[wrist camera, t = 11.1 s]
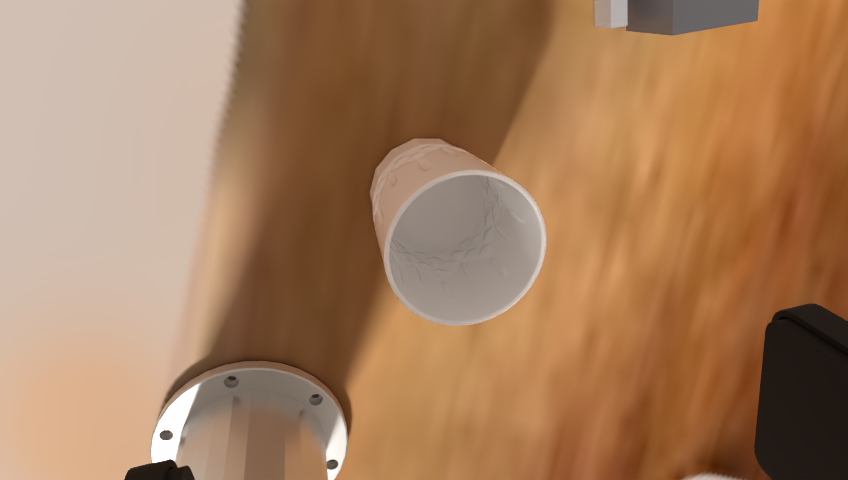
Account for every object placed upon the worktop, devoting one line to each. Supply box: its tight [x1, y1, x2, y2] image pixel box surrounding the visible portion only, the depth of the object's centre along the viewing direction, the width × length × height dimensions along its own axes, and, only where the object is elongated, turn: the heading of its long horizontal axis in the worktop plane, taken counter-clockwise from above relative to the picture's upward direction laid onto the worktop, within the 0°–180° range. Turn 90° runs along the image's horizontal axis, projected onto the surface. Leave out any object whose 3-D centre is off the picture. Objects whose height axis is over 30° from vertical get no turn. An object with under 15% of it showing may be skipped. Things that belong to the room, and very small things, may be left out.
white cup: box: [370, 139, 546, 326], centre depth 33 cm, size 8×8×10 cm
